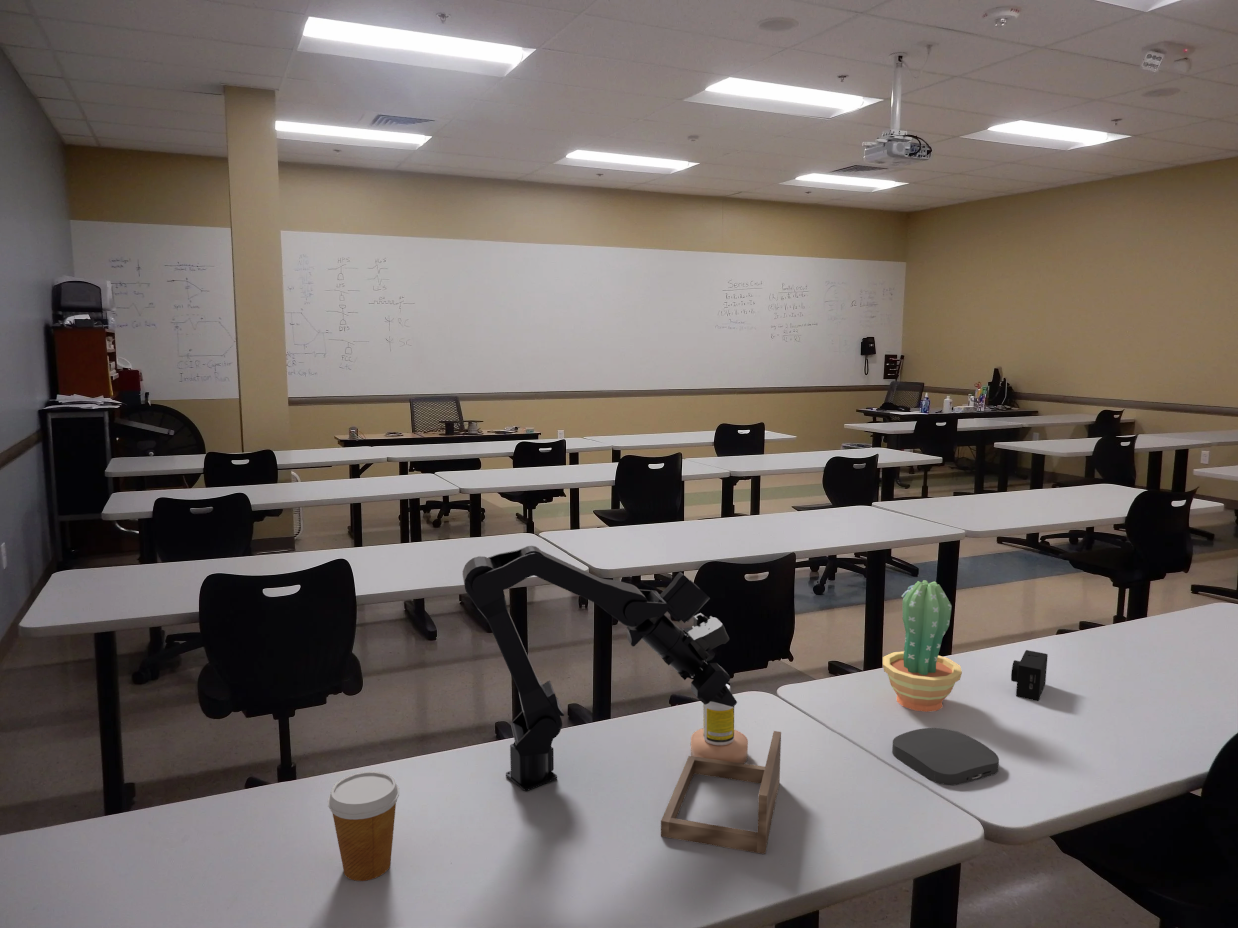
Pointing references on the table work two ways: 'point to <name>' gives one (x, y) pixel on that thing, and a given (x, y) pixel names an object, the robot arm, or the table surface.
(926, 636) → the potted cactus
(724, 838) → the brown wooden frame
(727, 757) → the terracotta stand
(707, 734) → the supplement bottle
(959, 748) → the media streaming box
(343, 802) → the disposable coffee cup
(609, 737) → the table surface
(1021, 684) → the digital camera
